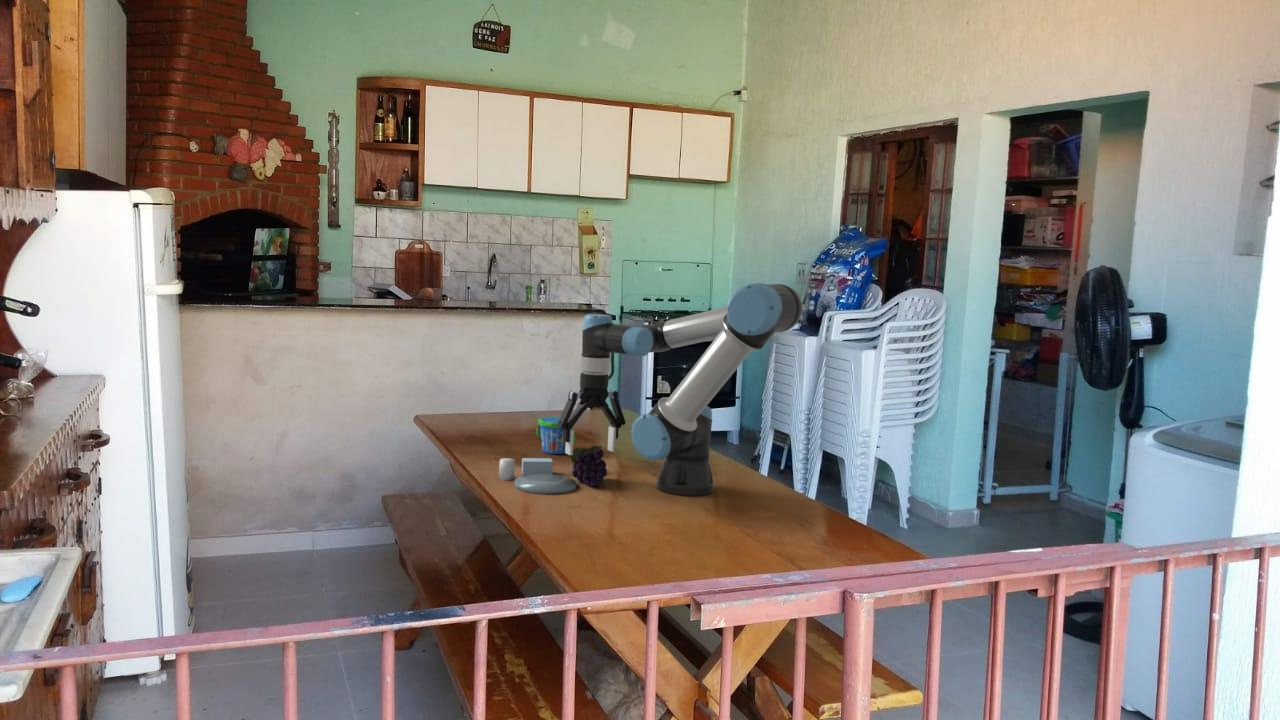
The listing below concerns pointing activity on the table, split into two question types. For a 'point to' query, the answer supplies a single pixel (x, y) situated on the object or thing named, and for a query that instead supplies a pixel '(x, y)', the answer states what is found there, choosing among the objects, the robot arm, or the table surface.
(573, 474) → the fruit
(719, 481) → the table surface
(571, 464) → the walnut block
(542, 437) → the snack cup
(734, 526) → the table surface
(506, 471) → the grey plastic peg
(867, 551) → the table surface
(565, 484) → the plate
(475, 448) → the table surface
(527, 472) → the dusty blue block
